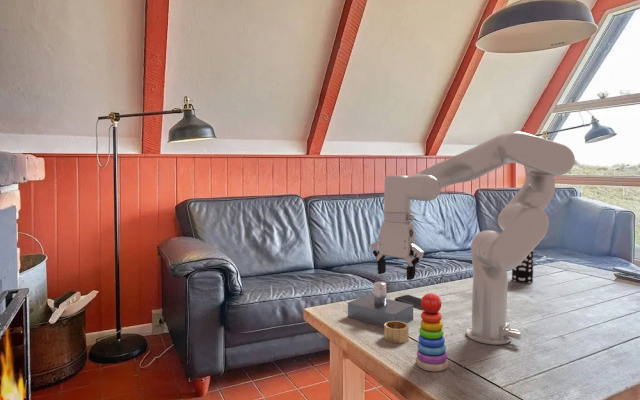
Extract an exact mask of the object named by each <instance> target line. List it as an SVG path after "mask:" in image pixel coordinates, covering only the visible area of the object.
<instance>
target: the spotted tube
mask: <svg viewBox="0 0 640 400" xmlns="http://www.w3.org/2000/svg"><path fill="white" fill-rule="evenodd" d="M534 253H535V248H534V249H533V250H532V251H531V253H530V254H529V255H528V256H527V257H526V258H525V259H524V260H523V262H522V263H521V264H519V265H518V266H517V267H516V268H514V269H512V270H511V281H513V282H515V283H520V284H531V283H533V281H534V257H535V256H534V255H535V254H534Z"/></svg>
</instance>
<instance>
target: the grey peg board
mask: <svg viewBox="0 0 640 400" xmlns="http://www.w3.org/2000/svg"><path fill="white" fill-rule="evenodd" d="M373 286H374V287H373V288H374V292H373V295H372V294H366V295H363V296H361V297H359V298H358V297H357V298H356V299H353V300H351V301H348V302H347V317H348V318H350V317H351V318H350V319H353V320H358V321H361V322H364V323H368V324H371V325H374V326H378V327H381V328H384V324H385V323H386V322H389V321H401V322H404V323H406V324H408V323H410V322H412V321H413V320H414V307H413V305H411V304H407V303H403V302H399V301H395V299H394V300H393V299H388V298H387V282H385V281H374V283H373Z"/></svg>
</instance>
